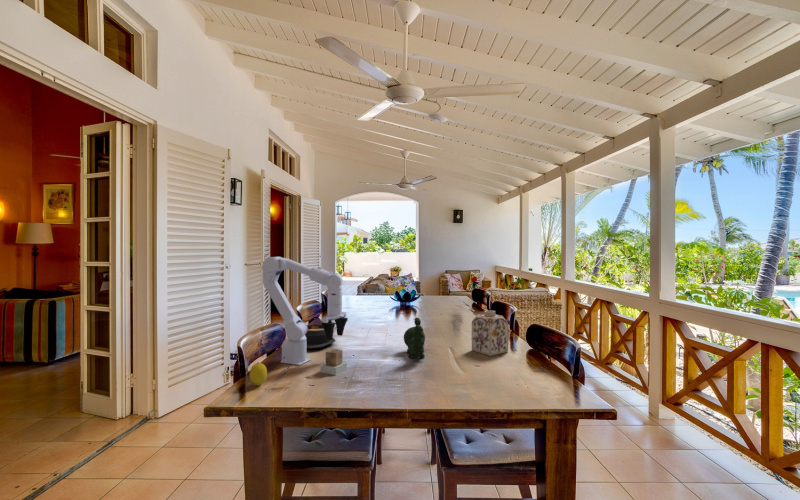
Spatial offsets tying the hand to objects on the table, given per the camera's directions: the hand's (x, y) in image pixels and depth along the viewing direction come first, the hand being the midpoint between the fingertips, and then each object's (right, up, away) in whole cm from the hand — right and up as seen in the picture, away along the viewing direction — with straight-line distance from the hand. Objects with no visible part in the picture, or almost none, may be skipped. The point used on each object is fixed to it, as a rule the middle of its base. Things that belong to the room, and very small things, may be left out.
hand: (334, 337), depth 158 cm
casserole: (-14, -10, +27) cm, 32 cm away
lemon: (-21, -11, -27) cm, 36 cm away
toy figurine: (+33, -10, +9) cm, 36 cm away
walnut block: (+2, -8, -12) cm, 14 cm away
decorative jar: (+66, -10, +15) cm, 69 cm away
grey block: (+1, -11, -11) cm, 16 cm away
